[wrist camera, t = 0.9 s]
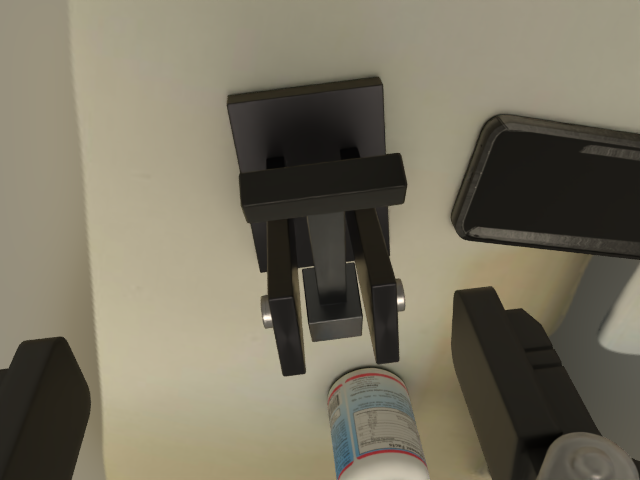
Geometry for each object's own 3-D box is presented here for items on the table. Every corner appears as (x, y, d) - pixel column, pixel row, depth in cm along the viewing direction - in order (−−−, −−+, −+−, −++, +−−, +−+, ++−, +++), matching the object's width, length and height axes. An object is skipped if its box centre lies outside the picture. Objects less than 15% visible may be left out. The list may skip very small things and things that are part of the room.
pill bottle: (363, 428, 48) (387, 572, 39) (310, 394, 46) (322, 541, 37) (423, 389, 46) (462, 532, 37) (371, 351, 44) (400, 495, 34)
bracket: (227, 95, 32) (210, 234, 21) (379, 76, 32) (436, 205, 21) (260, 261, 38) (260, 431, 28) (386, 245, 38) (434, 408, 28)
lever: (236, 151, 17) (241, 228, 16) (396, 131, 17) (412, 207, 16) (281, 294, 28) (286, 345, 27) (379, 282, 28) (387, 332, 27)
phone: (670, 263, 39) (450, 239, 37) (660, 252, 40) (446, 228, 38) (739, 154, 35) (495, 118, 32) (727, 145, 36) (489, 110, 33)
